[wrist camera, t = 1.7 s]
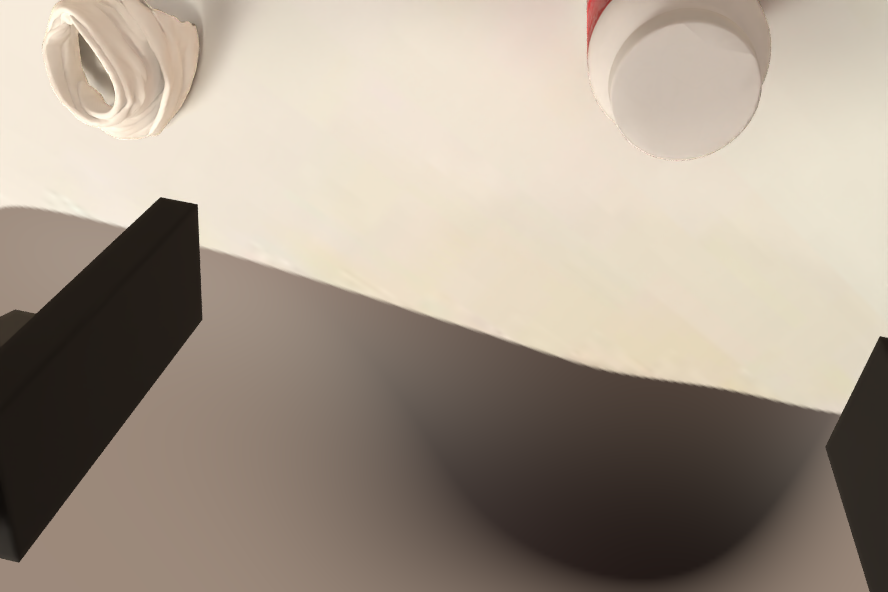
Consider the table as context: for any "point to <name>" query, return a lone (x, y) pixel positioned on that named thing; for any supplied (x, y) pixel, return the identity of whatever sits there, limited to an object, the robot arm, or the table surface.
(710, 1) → the pill bottle
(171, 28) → the cream folded ring
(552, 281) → the table surface
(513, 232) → the table surface
